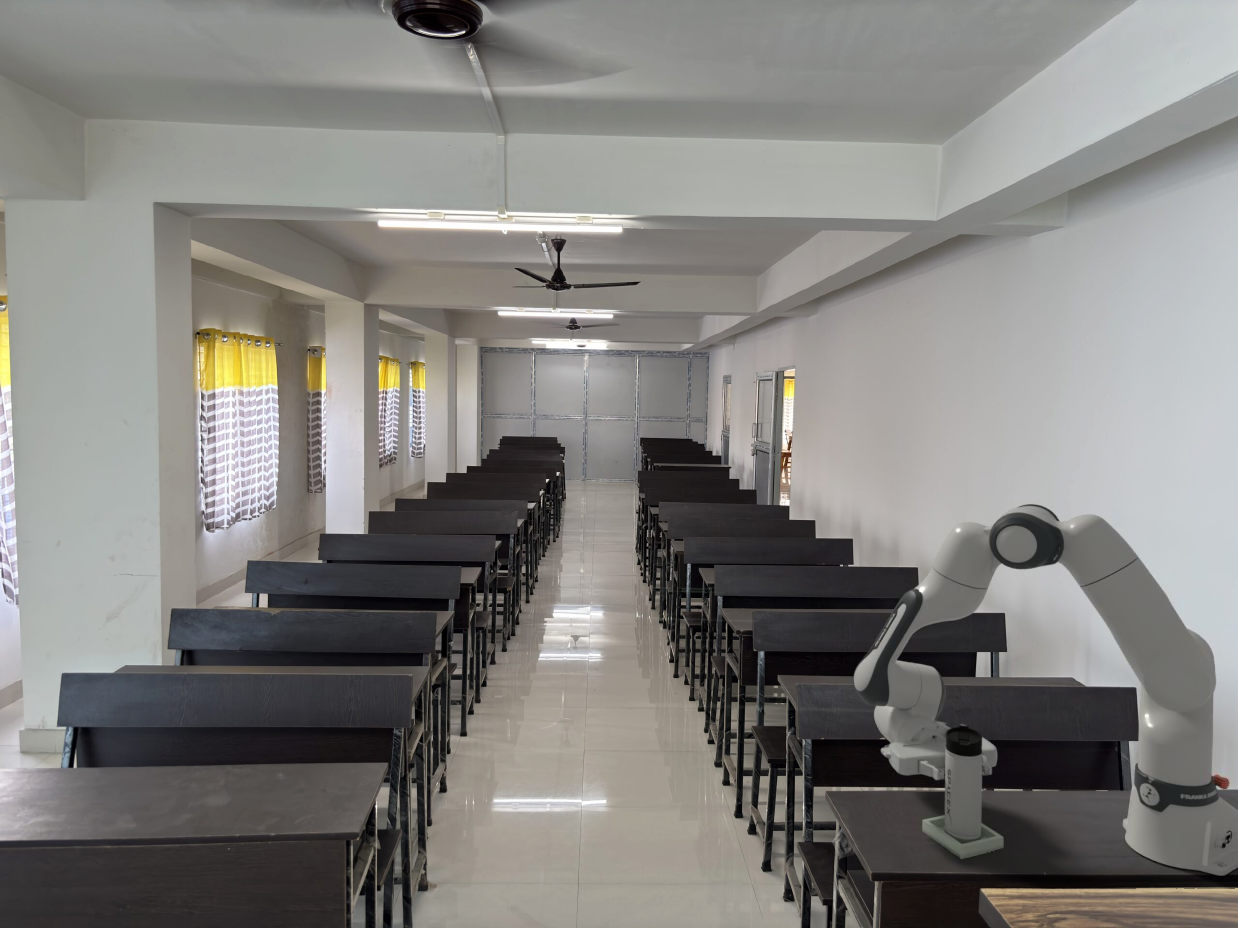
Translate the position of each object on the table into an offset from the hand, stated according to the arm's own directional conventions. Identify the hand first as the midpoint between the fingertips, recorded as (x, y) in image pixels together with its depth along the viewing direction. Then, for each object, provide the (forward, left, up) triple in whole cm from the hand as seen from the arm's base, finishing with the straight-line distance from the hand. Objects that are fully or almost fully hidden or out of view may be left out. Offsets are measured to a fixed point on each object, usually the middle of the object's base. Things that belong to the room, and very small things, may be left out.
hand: (964, 773), depth 155 cm
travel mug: (0, -1, -13) cm, 13 cm away
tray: (0, -1, -13) cm, 13 cm away
